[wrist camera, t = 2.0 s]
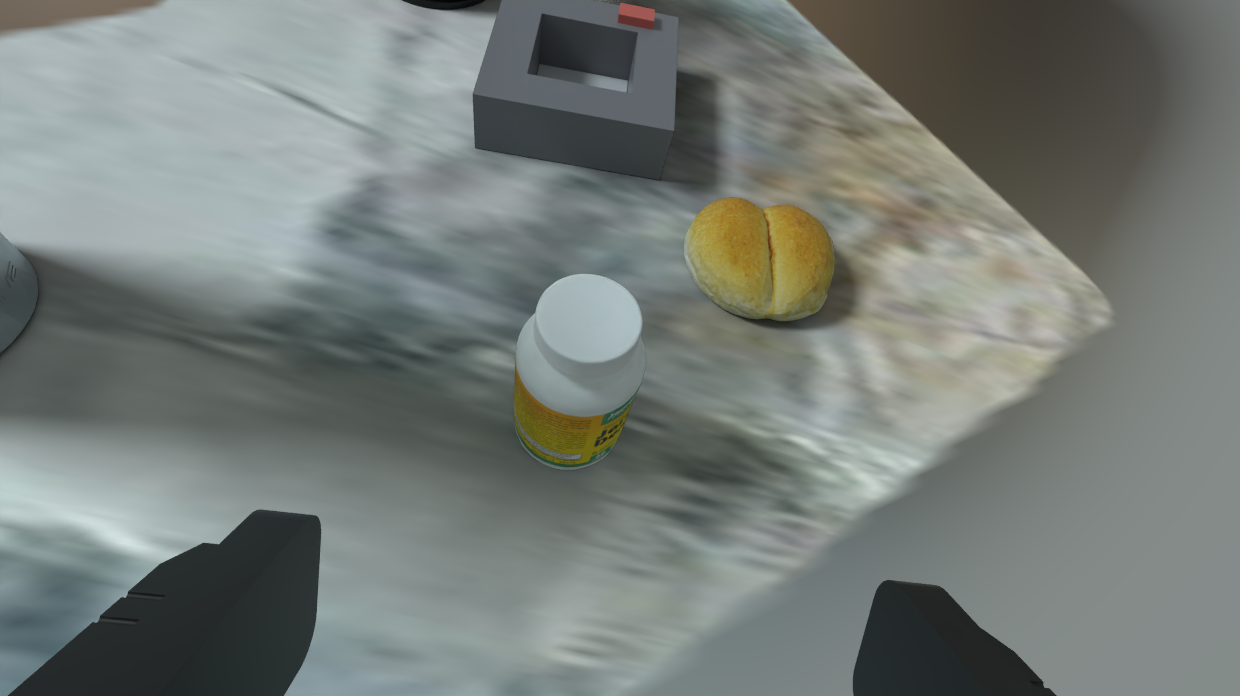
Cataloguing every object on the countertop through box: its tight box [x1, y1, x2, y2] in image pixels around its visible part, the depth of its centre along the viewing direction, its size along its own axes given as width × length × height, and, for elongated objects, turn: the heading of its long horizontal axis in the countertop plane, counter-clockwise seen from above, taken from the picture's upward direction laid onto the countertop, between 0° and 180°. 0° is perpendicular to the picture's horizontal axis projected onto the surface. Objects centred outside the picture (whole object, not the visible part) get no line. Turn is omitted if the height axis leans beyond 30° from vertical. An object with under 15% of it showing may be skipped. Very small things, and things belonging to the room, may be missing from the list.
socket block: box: [473, 0, 679, 180], centre depth 42 cm, size 12×12×5 cm
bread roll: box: [684, 197, 836, 321], centre depth 37 cm, size 8×9×4 cm
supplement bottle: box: [514, 274, 646, 470], centre depth 27 cm, size 5×5×10 cm
